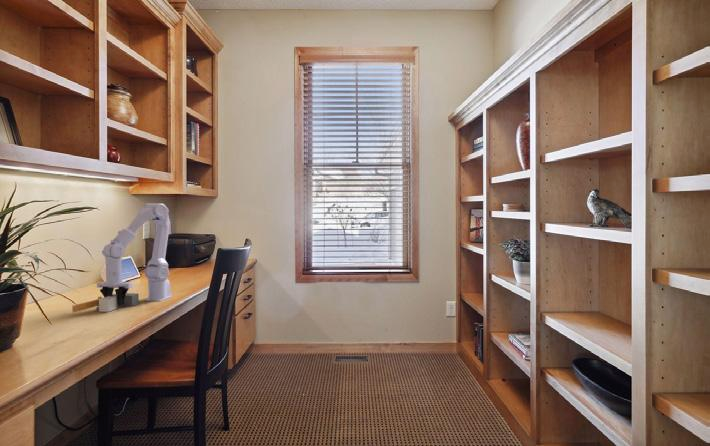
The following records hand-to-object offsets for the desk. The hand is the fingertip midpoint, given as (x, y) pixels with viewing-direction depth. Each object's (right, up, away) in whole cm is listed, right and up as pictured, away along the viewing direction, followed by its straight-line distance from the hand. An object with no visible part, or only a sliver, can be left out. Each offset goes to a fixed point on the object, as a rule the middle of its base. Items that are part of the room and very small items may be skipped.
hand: (114, 304), depth 164 cm
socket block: (0, -1, +2) cm, 3 cm away
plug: (0, -1, -3) cm, 3 cm away
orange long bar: (-7, 0, -7) cm, 9 cm away
